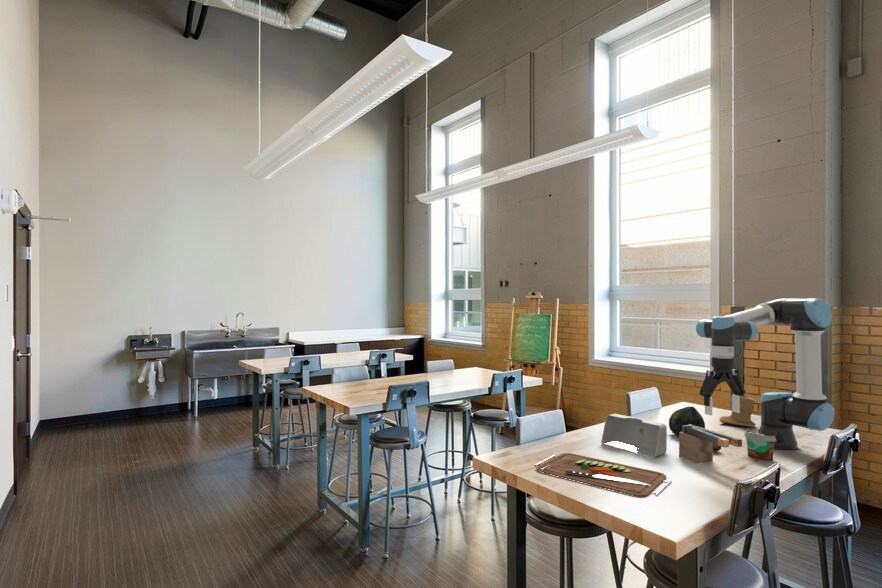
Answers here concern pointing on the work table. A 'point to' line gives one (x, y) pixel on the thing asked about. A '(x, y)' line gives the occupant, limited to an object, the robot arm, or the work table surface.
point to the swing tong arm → (707, 436)
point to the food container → (760, 445)
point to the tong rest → (700, 445)
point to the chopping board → (604, 474)
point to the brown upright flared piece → (741, 413)
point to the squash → (685, 419)
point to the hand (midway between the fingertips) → (722, 413)
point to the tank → (636, 434)
